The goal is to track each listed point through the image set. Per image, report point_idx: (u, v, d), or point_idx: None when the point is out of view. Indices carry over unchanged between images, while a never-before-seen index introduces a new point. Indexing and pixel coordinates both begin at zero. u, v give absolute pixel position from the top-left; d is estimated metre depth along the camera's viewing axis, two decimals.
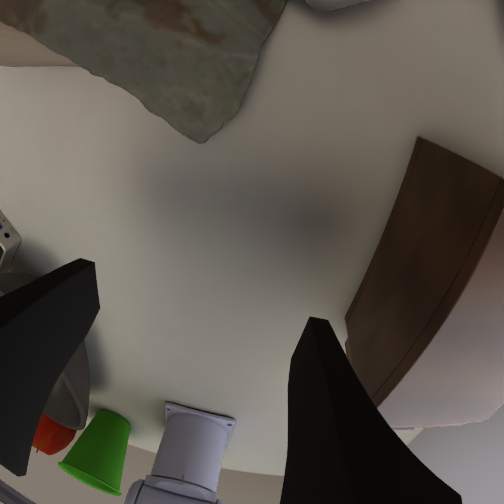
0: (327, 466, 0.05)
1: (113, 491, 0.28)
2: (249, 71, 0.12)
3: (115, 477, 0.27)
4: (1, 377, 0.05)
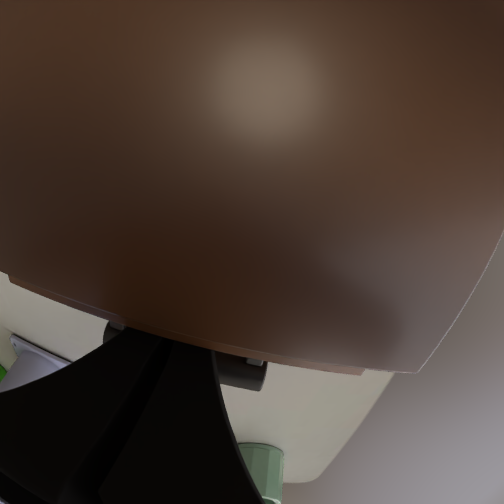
0: None
1: None
2: None
3: None
4: (126, 440, 0.05)
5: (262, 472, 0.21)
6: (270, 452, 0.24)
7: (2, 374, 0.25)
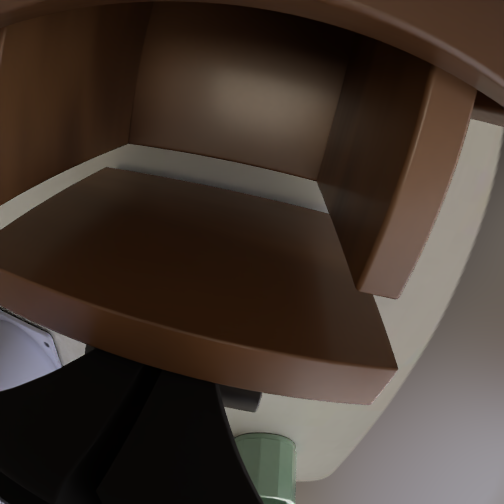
0: None
1: None
2: None
3: None
4: (125, 439, 0.05)
5: (273, 467, 0.18)
6: (281, 443, 0.20)
7: None
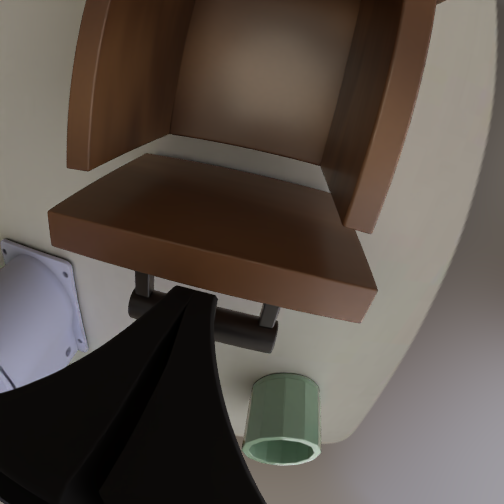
0: None
1: None
2: None
3: None
4: (127, 440, 0.05)
5: (298, 408, 0.19)
6: (306, 384, 0.21)
7: None
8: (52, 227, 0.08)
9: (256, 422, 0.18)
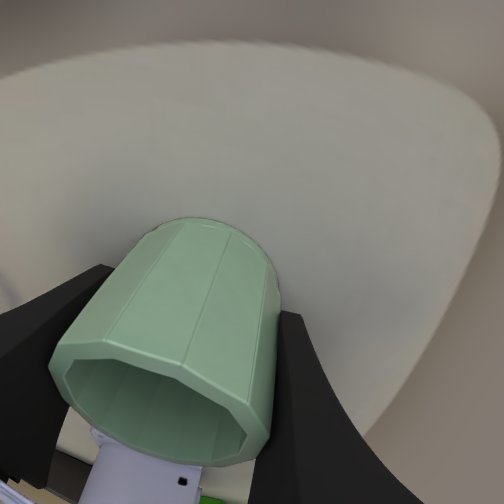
0: (282, 462, 0.05)
1: None
2: None
3: None
4: (24, 391, 0.05)
5: None
6: None
7: None
8: None
9: None
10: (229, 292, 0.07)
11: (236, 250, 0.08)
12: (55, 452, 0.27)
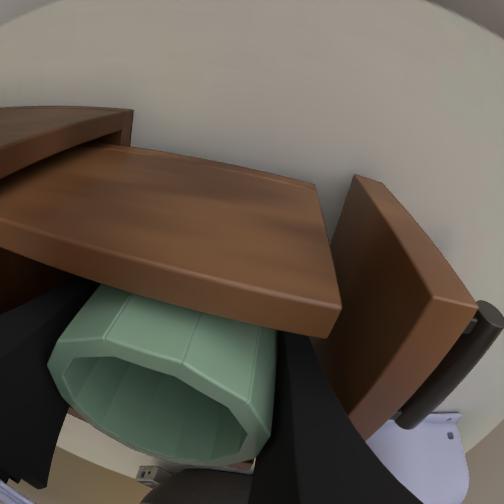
0: (282, 463, 0.05)
1: None
2: None
3: None
4: (24, 391, 0.05)
5: None
6: None
7: None
8: None
9: None
10: None
11: None
12: (211, 472, 0.27)
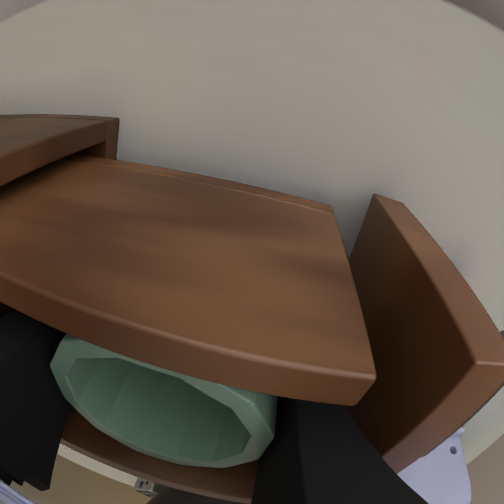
0: (287, 463, 0.05)
1: None
2: None
3: None
4: (27, 393, 0.05)
5: None
6: None
7: None
8: None
9: None
10: None
11: None
12: None
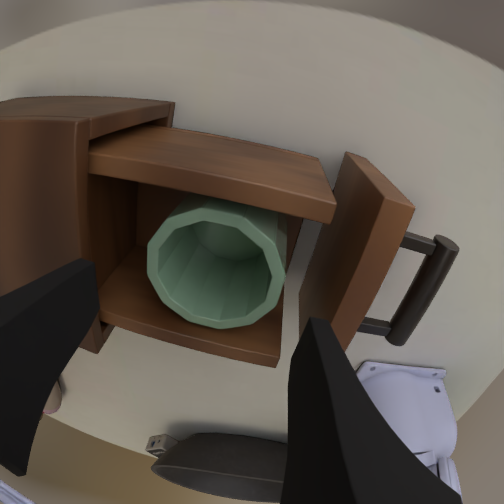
0: (327, 466, 0.05)
1: None
2: None
3: None
4: (1, 377, 0.05)
5: None
6: None
7: None
8: None
9: None
10: None
11: None
12: (219, 435, 0.32)
